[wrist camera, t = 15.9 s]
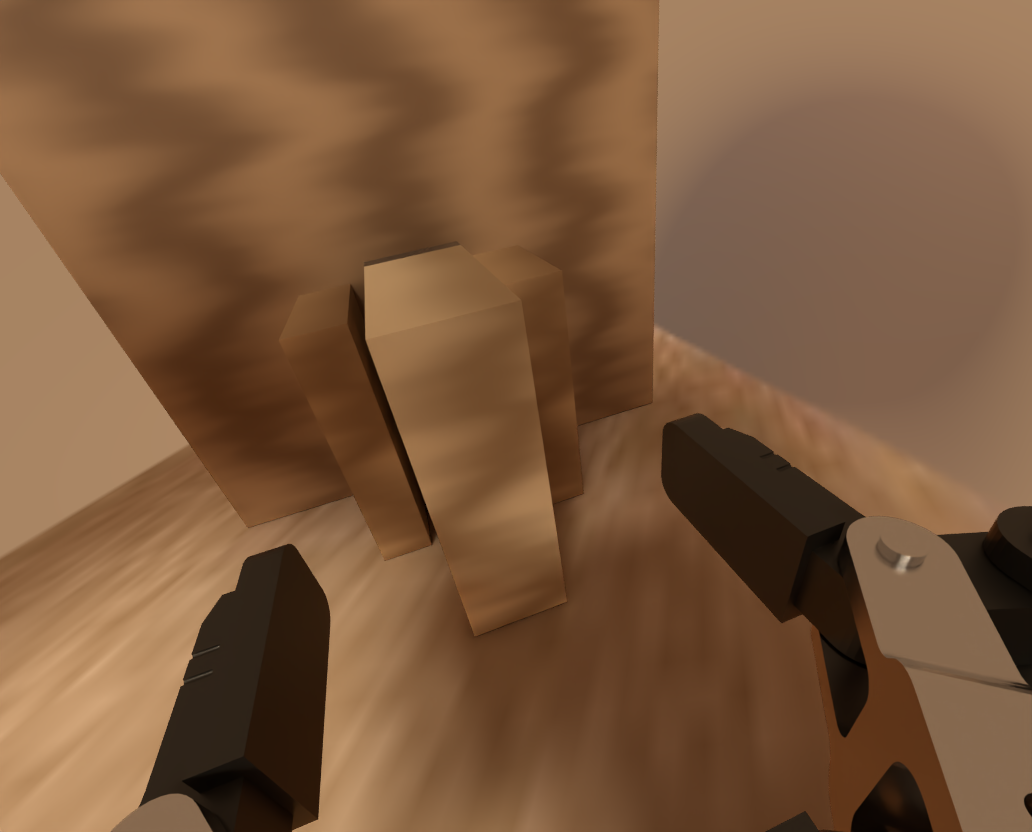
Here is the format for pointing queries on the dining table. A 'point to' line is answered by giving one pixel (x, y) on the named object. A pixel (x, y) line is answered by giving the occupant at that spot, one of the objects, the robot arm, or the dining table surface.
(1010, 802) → the robot arm
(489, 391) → the rail end
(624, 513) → the dining table surface
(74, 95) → the zigzag wooden panel
